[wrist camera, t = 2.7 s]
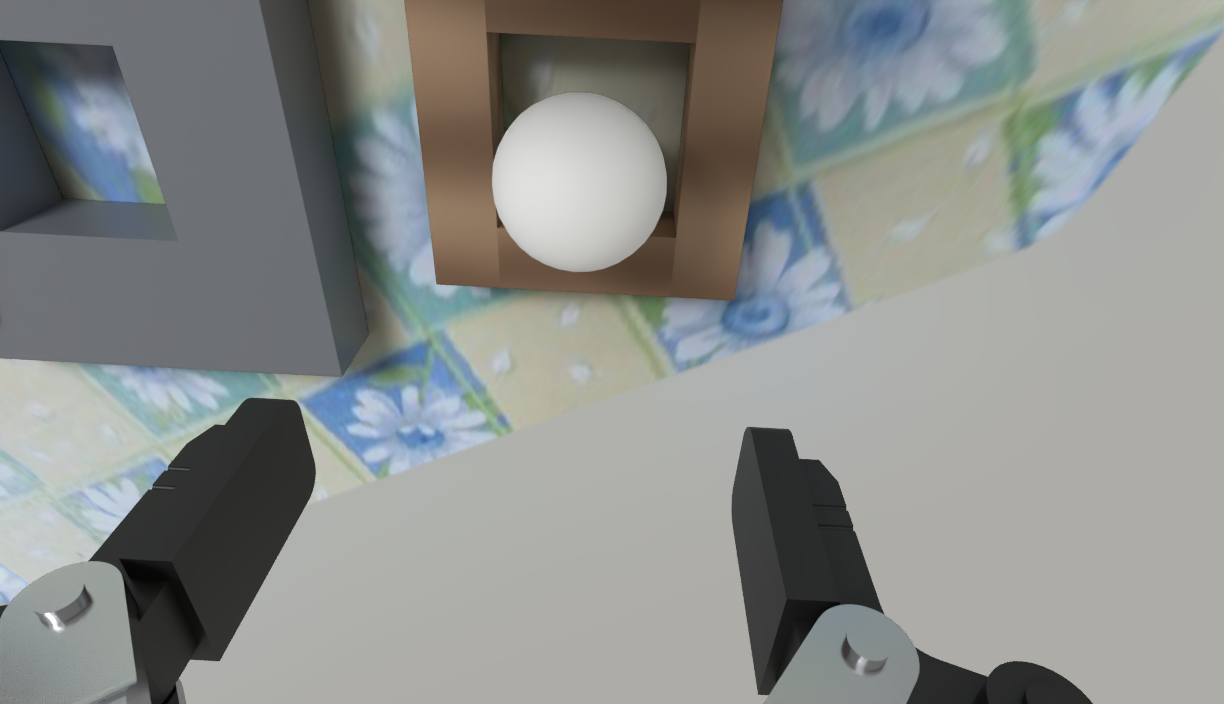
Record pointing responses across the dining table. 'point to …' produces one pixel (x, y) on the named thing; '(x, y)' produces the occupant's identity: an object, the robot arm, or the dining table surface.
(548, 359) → the dining table surface
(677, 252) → the wooden picture frame
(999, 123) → the dining table surface
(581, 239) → the lightbulb
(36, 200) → the socket block
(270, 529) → the robot arm
